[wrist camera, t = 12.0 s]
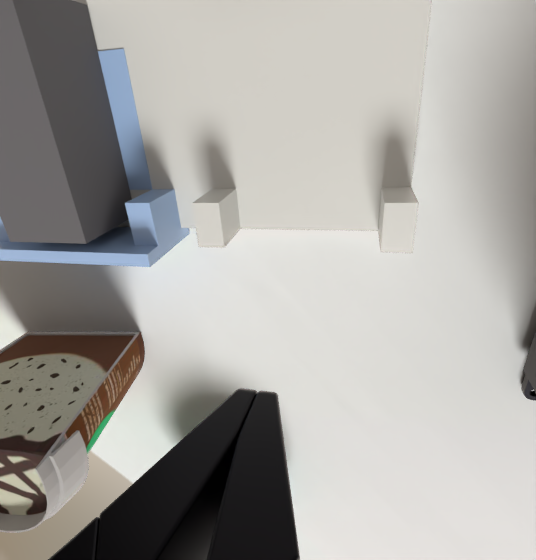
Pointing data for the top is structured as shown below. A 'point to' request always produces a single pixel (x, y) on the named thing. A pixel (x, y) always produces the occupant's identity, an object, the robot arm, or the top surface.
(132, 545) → the robot arm
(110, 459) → the top surface
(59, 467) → the food container
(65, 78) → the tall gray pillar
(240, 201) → the miniature room diorama
